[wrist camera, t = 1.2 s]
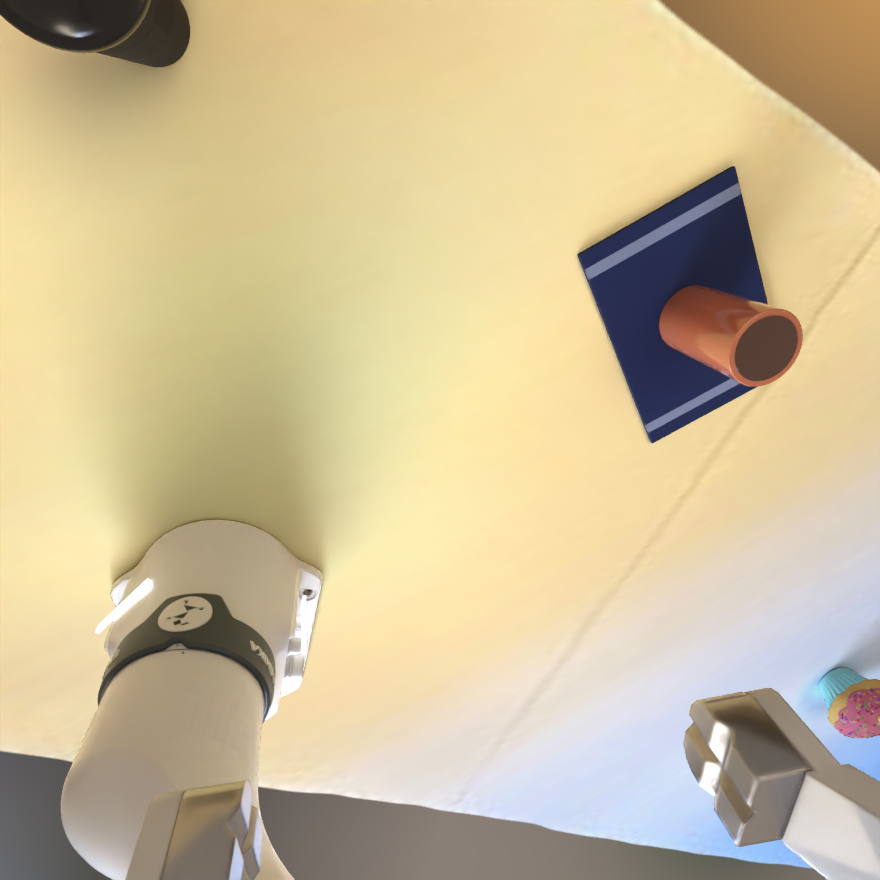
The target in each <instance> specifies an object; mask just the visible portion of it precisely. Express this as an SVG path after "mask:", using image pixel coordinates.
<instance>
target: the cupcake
mask: <svg viewBox="0 0 880 880" xmlns="http://www.w3.org/2000/svg"><path fill="white" fill-rule="evenodd" d="M819 690H820V692H821V694H822V696H823V698H824V700H825V702H826V704H827V708H828V712H829V716H828V720H829V722H830V723H831V724H832V725H833V726H834V727H835V728H836V729H837V730H838V731H839V732H840V733H842V734H843V735H844V736H848V737H851V738H854V737H857V738H865V737H866V738H868V737H873V736H877V735H880V680H877V679H871V680H869V679H867V678H864V677H862V676H860V675H859V674H857V673H855V672H853V671H852V670H850V669H848V668H837V669H834V670H832V671H830V672H829V673H827V674H826V675H825V676H824V677H823V678H822V680H821V681H820V683H819Z"/></svg>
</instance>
